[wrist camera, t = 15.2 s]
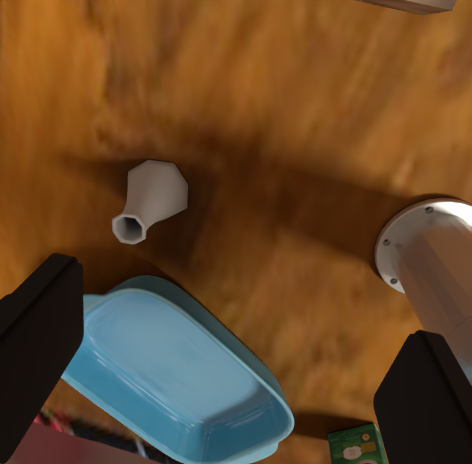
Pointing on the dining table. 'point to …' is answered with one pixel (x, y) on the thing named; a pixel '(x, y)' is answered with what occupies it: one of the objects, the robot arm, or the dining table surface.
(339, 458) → the coffee box
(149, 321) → the casserole dish
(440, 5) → the walnut tray
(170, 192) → the flask
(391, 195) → the dining table surface
